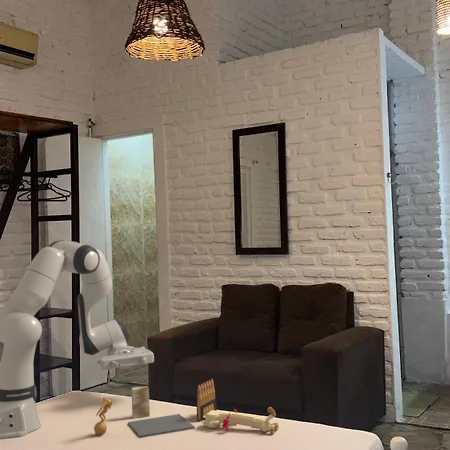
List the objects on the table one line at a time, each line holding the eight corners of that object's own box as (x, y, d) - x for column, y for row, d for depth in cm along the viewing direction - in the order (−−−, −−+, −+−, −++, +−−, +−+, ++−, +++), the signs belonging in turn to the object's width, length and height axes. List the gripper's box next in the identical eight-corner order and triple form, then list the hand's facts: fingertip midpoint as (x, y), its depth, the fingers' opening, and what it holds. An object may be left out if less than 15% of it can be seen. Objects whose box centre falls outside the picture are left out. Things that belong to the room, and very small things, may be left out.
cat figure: (280, 431, 194) (208, 419, 204) (281, 404, 194) (209, 393, 204) (270, 441, 185) (195, 428, 195) (271, 413, 185) (196, 401, 195)
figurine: (101, 430, 199) (100, 393, 200) (118, 431, 197) (116, 393, 198) (88, 438, 191) (86, 400, 192) (105, 439, 190) (103, 400, 190)
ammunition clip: (201, 421, 204) (200, 385, 204) (196, 421, 205) (195, 385, 205) (217, 412, 213) (215, 378, 213) (212, 412, 214) (210, 377, 214)
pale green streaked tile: (134, 418, 210) (133, 389, 211) (132, 416, 213) (131, 387, 213) (149, 416, 212) (148, 387, 213) (147, 414, 215) (146, 385, 215)
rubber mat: (139, 437, 190) (139, 435, 190) (128, 423, 205) (128, 422, 205) (194, 428, 197) (194, 426, 197) (179, 415, 212) (179, 413, 212)
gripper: (95, 352, 234) (102, 359, 221) (147, 345, 241) (157, 351, 228) (96, 369, 234) (103, 376, 221) (148, 361, 241) (158, 368, 228)
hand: (131, 364), depth 225 cm, fingers open, 8 cm apart
